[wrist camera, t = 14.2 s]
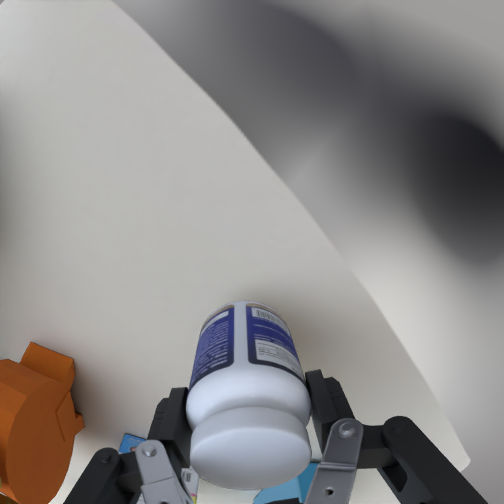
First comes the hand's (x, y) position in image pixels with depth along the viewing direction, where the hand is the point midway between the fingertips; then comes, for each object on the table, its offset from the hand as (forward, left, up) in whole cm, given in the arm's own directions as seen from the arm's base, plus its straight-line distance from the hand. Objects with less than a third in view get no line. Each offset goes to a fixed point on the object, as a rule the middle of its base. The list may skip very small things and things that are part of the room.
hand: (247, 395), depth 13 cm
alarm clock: (+6, -21, -9) cm, 24 cm away
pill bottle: (0, 0, -6) cm, 6 cm away
